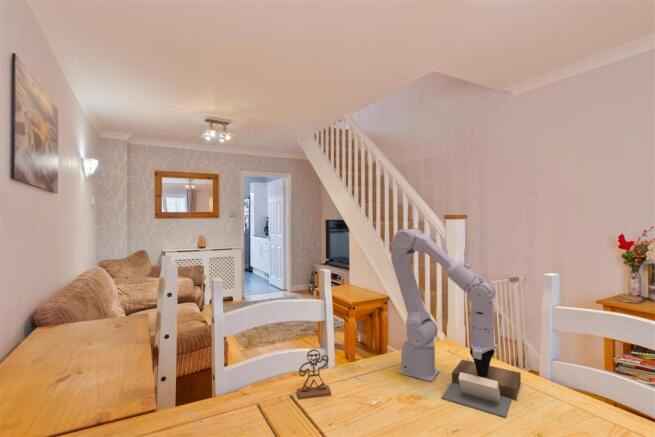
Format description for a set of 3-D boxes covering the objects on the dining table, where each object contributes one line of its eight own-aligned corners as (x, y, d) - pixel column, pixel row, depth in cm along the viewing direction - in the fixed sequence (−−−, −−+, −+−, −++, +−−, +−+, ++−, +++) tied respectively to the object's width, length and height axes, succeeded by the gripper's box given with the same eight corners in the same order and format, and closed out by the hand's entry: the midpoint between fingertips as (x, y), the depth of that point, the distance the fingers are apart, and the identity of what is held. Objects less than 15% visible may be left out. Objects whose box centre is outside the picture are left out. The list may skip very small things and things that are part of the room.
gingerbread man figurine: (298, 399, 88) (298, 353, 88) (296, 392, 92) (296, 348, 92) (331, 395, 90) (331, 350, 90) (328, 388, 94) (328, 345, 94)
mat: (441, 398, 88) (441, 397, 88) (451, 383, 96) (451, 382, 96) (505, 418, 79) (505, 416, 79) (511, 400, 87) (511, 398, 87)
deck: (452, 383, 96) (452, 372, 96) (461, 368, 105) (461, 359, 105) (515, 400, 87) (515, 388, 87) (520, 383, 96) (520, 372, 96)
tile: (463, 385, 92) (461, 392, 90) (460, 371, 89) (458, 378, 88) (500, 395, 86) (499, 402, 85) (497, 381, 84) (496, 388, 82)
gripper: (493, 337, 83) (494, 391, 83) (502, 322, 95) (502, 370, 95) (463, 331, 87) (464, 384, 87) (475, 318, 99) (476, 363, 99)
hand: (482, 376), depth 92 cm, fingers closed
